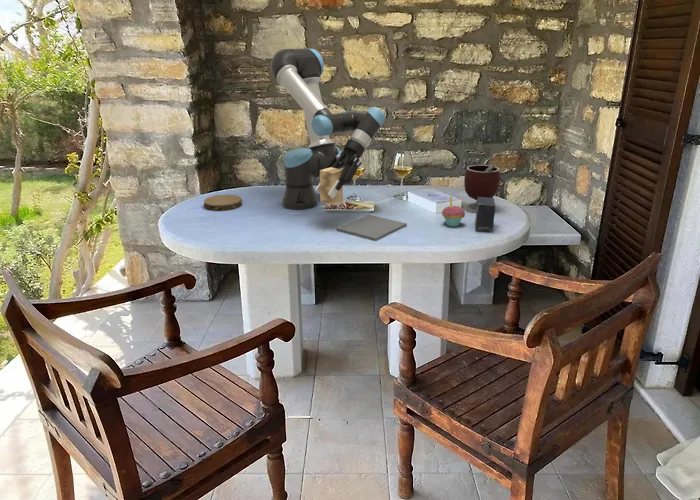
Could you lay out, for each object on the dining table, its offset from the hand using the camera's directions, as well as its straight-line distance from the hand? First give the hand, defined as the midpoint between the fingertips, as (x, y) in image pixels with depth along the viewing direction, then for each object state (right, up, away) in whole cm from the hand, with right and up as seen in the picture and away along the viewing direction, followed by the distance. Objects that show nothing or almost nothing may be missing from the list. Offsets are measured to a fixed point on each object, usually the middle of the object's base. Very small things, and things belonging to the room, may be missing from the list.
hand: (324, 193), depth 192 cm
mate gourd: (+64, -4, +23) cm, 68 cm away
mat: (+18, -13, +3) cm, 22 cm away
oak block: (+3, -2, +4) cm, 5 cm away
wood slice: (-45, -2, +33) cm, 56 cm away
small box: (+60, -13, +3) cm, 61 cm away
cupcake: (+49, -11, +6) cm, 50 cm away
